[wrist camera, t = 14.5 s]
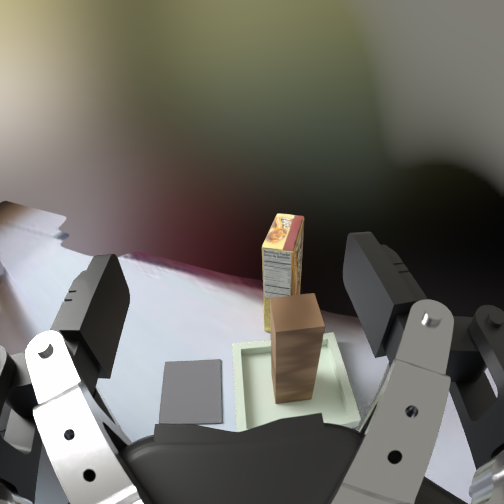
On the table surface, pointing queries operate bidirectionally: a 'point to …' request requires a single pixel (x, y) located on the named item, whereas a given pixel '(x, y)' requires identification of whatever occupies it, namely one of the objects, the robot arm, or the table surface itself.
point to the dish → (265, 410)
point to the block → (295, 346)
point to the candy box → (282, 260)
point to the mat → (191, 392)
